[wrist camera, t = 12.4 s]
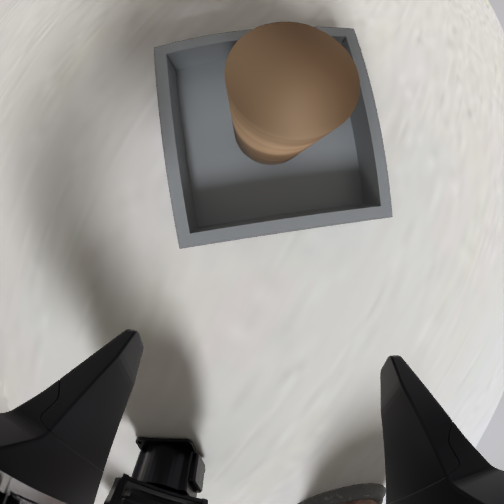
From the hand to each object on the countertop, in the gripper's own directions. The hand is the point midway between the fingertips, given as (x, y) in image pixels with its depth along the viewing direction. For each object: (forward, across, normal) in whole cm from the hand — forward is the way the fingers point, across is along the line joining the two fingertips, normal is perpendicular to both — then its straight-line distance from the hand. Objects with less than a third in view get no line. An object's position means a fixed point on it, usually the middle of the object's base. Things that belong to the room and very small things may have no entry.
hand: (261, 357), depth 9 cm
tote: (+15, +1, -5) cm, 16 cm away
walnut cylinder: (+14, +1, -5) cm, 15 cm away
